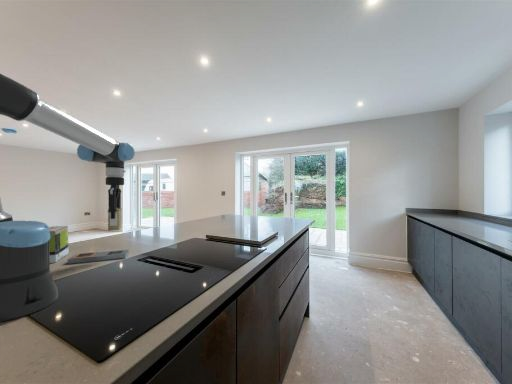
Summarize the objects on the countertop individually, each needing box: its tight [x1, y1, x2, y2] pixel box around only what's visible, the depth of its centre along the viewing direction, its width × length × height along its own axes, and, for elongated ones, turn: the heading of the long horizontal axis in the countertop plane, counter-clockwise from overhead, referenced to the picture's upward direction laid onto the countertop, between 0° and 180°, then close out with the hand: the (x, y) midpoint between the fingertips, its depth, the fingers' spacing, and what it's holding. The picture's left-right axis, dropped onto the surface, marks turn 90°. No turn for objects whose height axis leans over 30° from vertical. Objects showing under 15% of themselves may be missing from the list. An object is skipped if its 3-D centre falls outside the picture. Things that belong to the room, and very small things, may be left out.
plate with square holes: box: [67, 249, 130, 265], centre depth 99 cm, size 8×22×2 cm, turn 111°
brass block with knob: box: [107, 208, 122, 231], centre depth 101 cm, size 4×4×10 cm
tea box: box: [48, 225, 70, 264], centre depth 98 cm, size 15×10×15 cm
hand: (114, 224), depth 101 cm, fingers closed on brass block with knob, 4 cm apart
